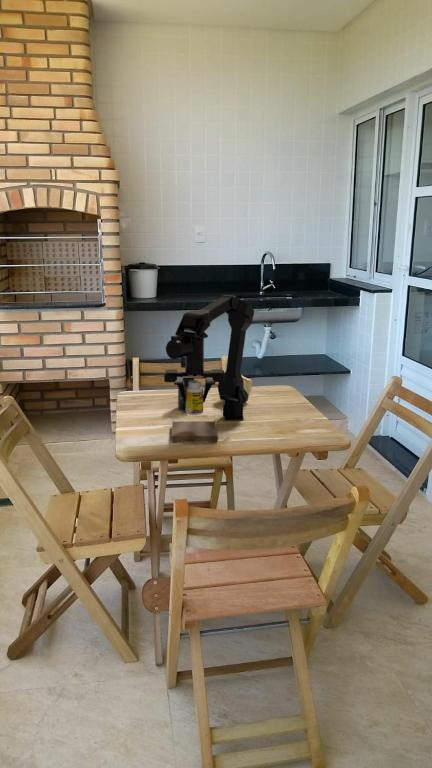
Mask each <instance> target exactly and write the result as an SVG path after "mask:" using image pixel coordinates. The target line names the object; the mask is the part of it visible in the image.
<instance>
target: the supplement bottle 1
mask: <svg viewBox="0 0 432 768" xmlns="http://www.w3.org/2000/svg"><path fill="white" fill-rule="evenodd" d="M188 376H193V375H188ZM183 380H184V388H185V395H186V388H187V387H188V382H189V381H191V380H195V379H183ZM177 408H178V409H179V410H181V411H185V412H186V403H185V402H184V399H183V397H182V394H181V391H180V389H179V388H178V387H177Z"/></svg>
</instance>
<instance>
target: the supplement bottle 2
mask: <svg viewBox="0 0 432 768" xmlns="http://www.w3.org/2000/svg"><path fill="white" fill-rule="evenodd" d="M203 395H204V388H203V387H202V381H201V380H199V379H194V380H191V381H189V382H188V387H187V388H186V411H185V413H186V414H187V415H190V416H191V415H192V416H199V415H202V414H203V413H204V402H203Z"/></svg>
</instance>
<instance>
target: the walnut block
mask: <svg viewBox="0 0 432 768" xmlns="http://www.w3.org/2000/svg"><path fill="white" fill-rule="evenodd" d="M171 425H172V428H171V429H172V430H171V443H218V431H217V430H218V429H217V424H216V420H215V421H213V420H211V421H209V420H208V421H207V420H206V421H203V420H201V421H190V420H188V421H172V424H171Z"/></svg>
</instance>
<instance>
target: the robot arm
mask: <svg viewBox="0 0 432 768" xmlns="http://www.w3.org/2000/svg"><path fill="white" fill-rule="evenodd" d="M224 314H227V322H228V323H229V326H230V337H229V344H228V354H227V361H226V369H225V370H224V369H222V368H221V369H219V368H218V369H217V368H215V369H211V372H205V370H204V369H205V367H204V366H205V365H204V364H205V339H207V338H208V337H209V335H208V334H207V333H206V331H207V330H208V329H209V328H210V327H211V324H212V322H213V321H214V320H216V319H218V318H219V317H221V316H222V315H224ZM254 315H255V309H254V307H253V306H252V305H251V304H249V303H247V302H245V301H243V300H241V299H239V298H238V297H237V296H235V295H230V294H223V295H221V296H220V298H218V299H216V300H215V301H213V302H211V303H209V304H208V305H206V306H204V307H203V308H200V309H197V310H196V309H195V310H190V311H187V312H185V313H183V315H182V318H181V320H180V322H179V324H178V326H177V329H176V332H175V333H174V335H171V337H170V340H169V341H168V342H167V344H166V346H165V352H166V355H167V356H168V358H170V359H172V360H178V359H180V368H181V369H182V368H183V369H184V371H185V372H178V369H166V370H164V374H163V375H164V376H163V379H164V380H163V381H164V382H163V383H173V385H175V386H177V389H178V388H179V389H180V391H181V394H182V397H183V399H184V402H185V403H186V395H185V388H184V380H183V379H194V380H200V379H205V380H204V388H203V403H205V402H206V400H207V397H208V395H209V393H210V390H211V388H212V386H213V385H216V383H218V384H217V392H218V395H219V400H222V401H223V400H225V402H223V403H222V416H223V418H224V420H225V421H243V420H244V404H246V403H247V402H248V400H249V397H248V396H250V394H249V395H248V393H247V392H246V391H245V389H244V381H243V378H242V376H243V375H242V373H241V372H242V371H241V370H242V364H243V356H244V348H245V341H246V333H247V330H248V329H249V328H250V327H251V325H252V324H253V319H254ZM188 375H192V376H188ZM241 375H242V376H241Z"/></svg>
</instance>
